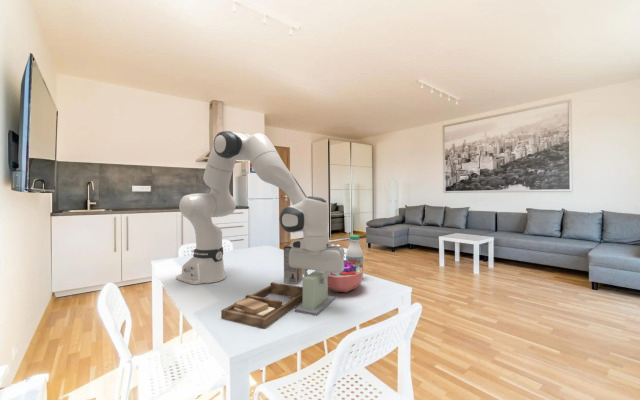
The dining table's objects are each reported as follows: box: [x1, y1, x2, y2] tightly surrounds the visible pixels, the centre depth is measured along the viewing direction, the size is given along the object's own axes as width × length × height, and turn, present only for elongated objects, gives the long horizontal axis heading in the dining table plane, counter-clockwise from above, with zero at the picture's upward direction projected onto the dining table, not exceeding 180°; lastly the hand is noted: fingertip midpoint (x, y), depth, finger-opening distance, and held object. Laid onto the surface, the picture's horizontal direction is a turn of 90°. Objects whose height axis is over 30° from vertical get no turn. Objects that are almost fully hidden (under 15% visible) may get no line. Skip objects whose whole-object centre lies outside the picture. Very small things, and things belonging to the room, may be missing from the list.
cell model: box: [328, 259, 364, 293], centre depth 115 cm, size 17×20×11 cm
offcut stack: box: [233, 297, 275, 318], centre depth 90 cm, size 13×7×4 cm, turn 60°
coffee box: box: [283, 242, 304, 285], centre depth 127 cm, size 9×6×16 cm
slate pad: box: [294, 295, 336, 317], centre depth 99 cm, size 8×16×1 cm, turn 156°
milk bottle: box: [345, 234, 364, 280], centre depth 130 cm, size 8×8×20 cm
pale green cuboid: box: [302, 270, 329, 310], centre depth 99 cm, size 4×12×10 cm, turn 156°
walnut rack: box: [220, 282, 303, 329], centre depth 97 cm, size 16×26×4 cm, turn 156°
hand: (315, 282), depth 99 cm, fingers open, 5 cm apart
